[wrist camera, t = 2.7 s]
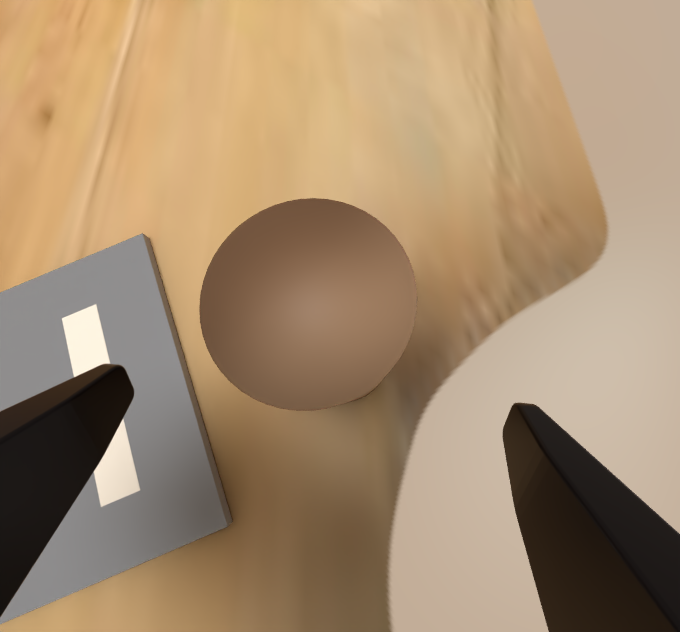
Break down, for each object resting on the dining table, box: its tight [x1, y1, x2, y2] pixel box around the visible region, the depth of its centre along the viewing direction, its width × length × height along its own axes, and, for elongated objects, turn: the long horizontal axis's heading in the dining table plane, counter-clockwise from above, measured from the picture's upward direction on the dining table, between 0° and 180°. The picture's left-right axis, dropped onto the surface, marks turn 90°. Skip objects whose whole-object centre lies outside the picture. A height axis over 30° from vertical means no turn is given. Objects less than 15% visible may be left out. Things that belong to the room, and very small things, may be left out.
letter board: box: [0, 233, 233, 624], centre depth 18 cm, size 16×16×1 cm
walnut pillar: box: [199, 198, 417, 411], centre depth 12 cm, size 4×4×11 cm
